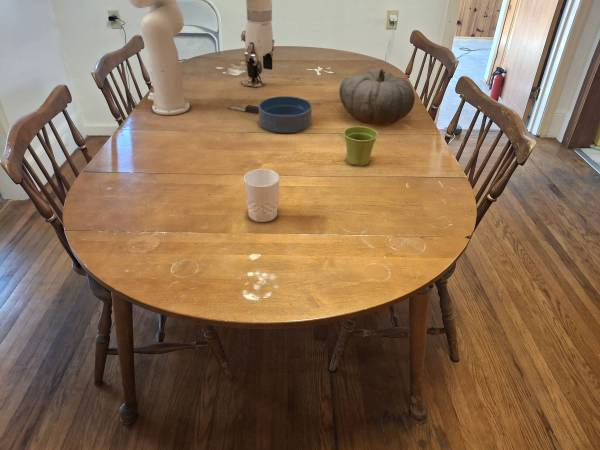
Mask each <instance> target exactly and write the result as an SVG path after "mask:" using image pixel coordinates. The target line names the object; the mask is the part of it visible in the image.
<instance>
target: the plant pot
mask: <svg viewBox="0 0 600 450" xmlns="http://www.w3.org/2000/svg"><path fill="white" fill-rule="evenodd" d="M342 134H343V136H344V139H345V144H346V145H345V146H346V159H347V160H346V161H347V162H348V164H350V165H351V166H358V167H363V166H366V165H368V164H369V162H370V160H371V156H372V151H373V147H374V144H375V143H376V141H377V140H376V139H377V138H378V137H379V132H378V131H377V130H376V129H374V128H372V127H368V126H361V125H358V126H357V125H356V126H355V125H354V126H350V127H347V128H345V129H344V130H343V133H342Z"/></svg>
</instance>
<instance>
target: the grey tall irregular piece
mask: <svg viewBox="0 0 600 450" xmlns="http://www.w3.org/2000/svg"><path fill="white" fill-rule="evenodd" d="M245 35H246V30H243V31H242V32H241V35H240V37H241V39H240V41H241V42H242V41H243V42H244V43H245ZM252 59H253V60H254V59H255V58H253V57H252ZM245 65H246V71H247V72H248V64H247V61H246V60H245ZM256 65H258V78H252V77H249V76H248V77H246V78H245V79H242V80H241V81H240V83H241V84H242V85H244V86H248V87H254V88H259V87H263V86H265V84H266V83H265V82H263V80H262V78H261V75H260V74H262V73H263V64H262V61H261V60H260V57H259V58H258V61H257V64H256Z"/></svg>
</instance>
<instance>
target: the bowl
mask: <svg viewBox="0 0 600 450" xmlns="http://www.w3.org/2000/svg"><path fill="white" fill-rule="evenodd" d="M257 107H258V111H259V113H258V124H259V126H260V127H261V128H263V129H264V130H267V131H270V132H273V133H274V132H275V133H283V134H285V133H286V134H287V133H289V134H290V133H296V132H301V131H303V130H306V129H308V128H309V127H310V126H311V125H312V120H313V105H312V103H311V102H310V101H308V100H307V99H304V98H302V97H297V96H290V95H289V96H288V95H282V96H281V95H280V96H272V97H268V98H266V99H262V100H261V101H260V102H259V103H258V105H257Z"/></svg>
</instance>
